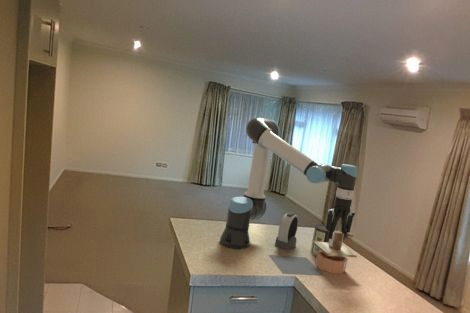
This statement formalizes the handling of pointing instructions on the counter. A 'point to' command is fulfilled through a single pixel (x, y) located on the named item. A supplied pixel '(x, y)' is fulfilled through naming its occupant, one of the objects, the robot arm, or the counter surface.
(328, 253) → the lid
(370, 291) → the counter surface
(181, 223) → the counter surface
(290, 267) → the mat
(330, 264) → the bowl
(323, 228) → the coffee can
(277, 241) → the alarm clock
